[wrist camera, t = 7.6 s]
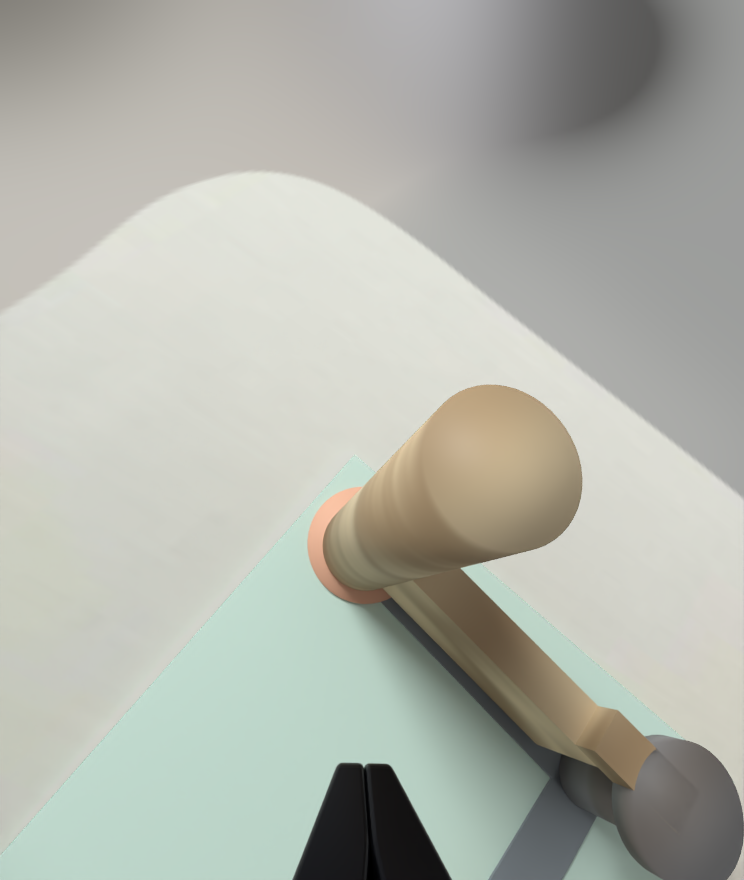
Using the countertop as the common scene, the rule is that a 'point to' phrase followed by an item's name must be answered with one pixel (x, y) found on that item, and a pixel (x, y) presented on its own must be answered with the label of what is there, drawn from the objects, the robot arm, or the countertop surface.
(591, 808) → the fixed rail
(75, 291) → the countertop surface
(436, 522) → the rail
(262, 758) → the card
